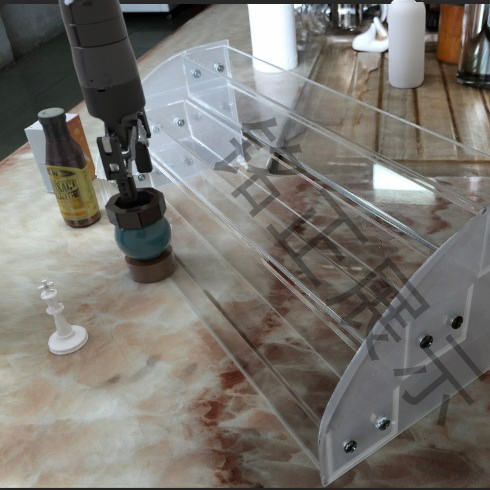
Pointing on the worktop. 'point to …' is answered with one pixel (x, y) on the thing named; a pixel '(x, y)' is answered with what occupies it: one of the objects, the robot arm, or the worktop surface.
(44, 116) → the sauce bottle
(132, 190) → the robot arm
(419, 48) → the white plastic bottle
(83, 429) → the worktop surface
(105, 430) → the worktop surface
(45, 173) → the small box
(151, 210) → the walnut ring
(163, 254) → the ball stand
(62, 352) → the chess piece
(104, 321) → the worktop surface
